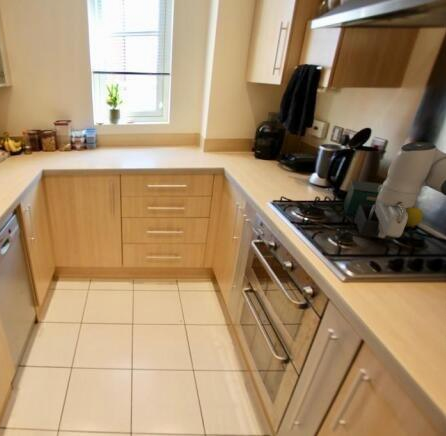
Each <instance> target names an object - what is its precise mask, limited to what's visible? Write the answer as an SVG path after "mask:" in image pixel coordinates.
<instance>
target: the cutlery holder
mask: <svg viewBox="0 0 446 436" xmlns="http://www.w3.org/2000/svg"><path fill="white" fill-rule="evenodd" d="M375 207H376V205H373V206H371V205H364V204H360V205H359V208H358V210H357V213H356V216H354V219H353V223H354V224H356V226H357V229H358V230H357V231H358V233H359V235H361V236H364V237H369V238H376V239H382V240H387V241H394V239H395V237H390V236H385V238H381V237H378V234H377V230H378V225H379V219H378V217H377V215H376V212H375Z"/></svg>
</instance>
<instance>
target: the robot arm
mask: <svg viewBox="0 0 446 436" xmlns="http://www.w3.org/2000/svg"><path fill="white" fill-rule="evenodd" d="M382 184H383V185H380V186H379V188H378V193H379V194H378V196H377V200H376V203H375V205H376V207H375V212H376V215H377V217H378V219H379V225H378V230H377V234H378V237H381V238H385V236H390V237H394V238H397V239H398V238H401V236H402V235H403V233H404V230H405V227H406V226H405V225H406V222H407V219H408V214H407V212H406V209H407V208H410V207H415V204H416V201H417V200H418V197H419V195H420V193H421V190H422V188H423V187H428V188H430V189H432V190H435V191H436V192H439V193H440V194H442V195H443V196H445V197H446V152H443V151H442V150H440V149H438V147H437V146H436V145H435V144H434V143H432V142H431V143H430V142H425V141H415V142H414V141H413V142H408V143H405V144H402V146H401V147H400V148H399V149H398V150H397V151H396V153H395V154H394V156H393V158H392V161H391V162H390V165H389V167H388V169H387V177H386V178H385V180H384V181H383V183H382ZM381 238H380V239H381Z"/></svg>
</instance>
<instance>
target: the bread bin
mask: <svg viewBox="0 0 446 436" xmlns="http://www.w3.org/2000/svg"><path fill="white" fill-rule="evenodd" d="M380 185H383V183H377V182H370V181H363V180H355V179H351V180H350V184H349V187H348V189H347V190H348V191H347V193H346V195H345V198H344V202H343V208H344V214H345V215H348V216H353V217H355V216H356V213H357V210H358V208H359V205H360V204H364V205H371V206H373V205H375V203H376V200H377V196H378V194H379V193H378V188H379V186H380Z"/></svg>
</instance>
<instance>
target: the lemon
mask: <svg viewBox="0 0 446 436" xmlns="http://www.w3.org/2000/svg"><path fill="white" fill-rule="evenodd" d="M406 212H407V214H408V219H407V222H406V225H405V227H406V228H409V227H415V226H417V225H419V224H420V223H421V222H422V220H423V216H424V215H423V211H422V210H421V209H420V208H419V207H418V206H413V207H410V208H406Z"/></svg>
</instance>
